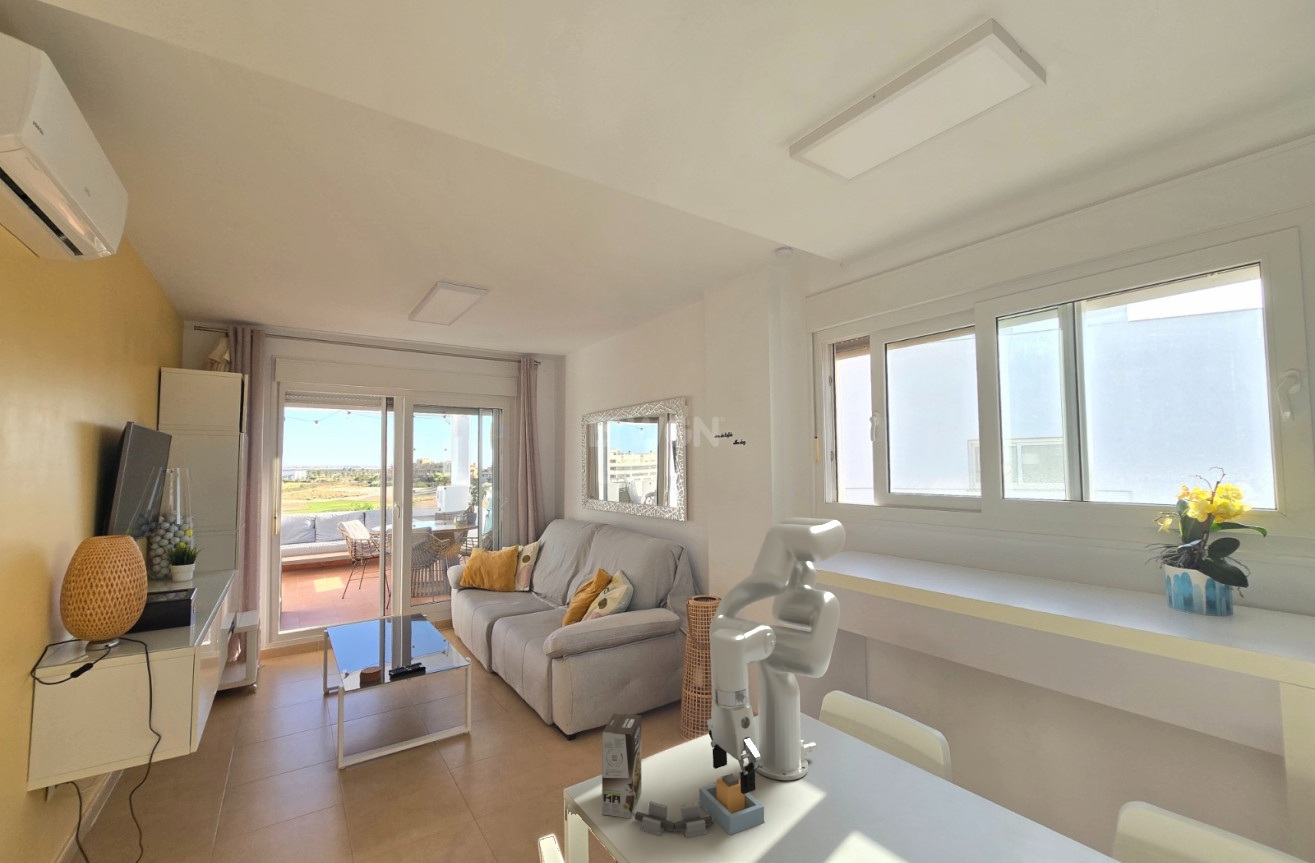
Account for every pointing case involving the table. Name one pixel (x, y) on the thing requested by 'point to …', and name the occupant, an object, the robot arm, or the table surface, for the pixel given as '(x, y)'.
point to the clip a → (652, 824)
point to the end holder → (729, 821)
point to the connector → (730, 793)
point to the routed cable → (673, 825)
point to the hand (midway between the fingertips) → (733, 778)
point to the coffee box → (621, 765)
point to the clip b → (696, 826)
